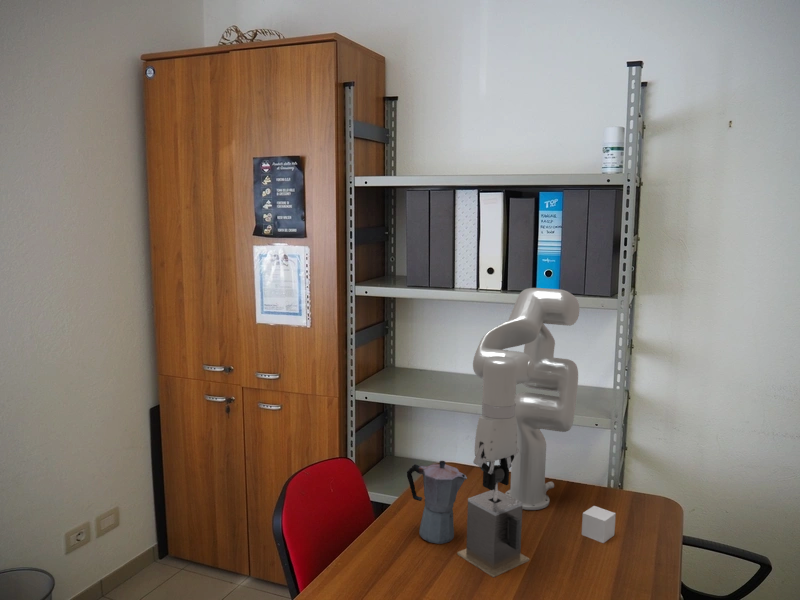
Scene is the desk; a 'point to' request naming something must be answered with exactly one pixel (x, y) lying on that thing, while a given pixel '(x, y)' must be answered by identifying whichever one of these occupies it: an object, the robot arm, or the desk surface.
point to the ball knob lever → (497, 480)
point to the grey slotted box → (494, 533)
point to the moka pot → (437, 500)
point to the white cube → (598, 524)
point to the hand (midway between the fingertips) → (495, 484)
